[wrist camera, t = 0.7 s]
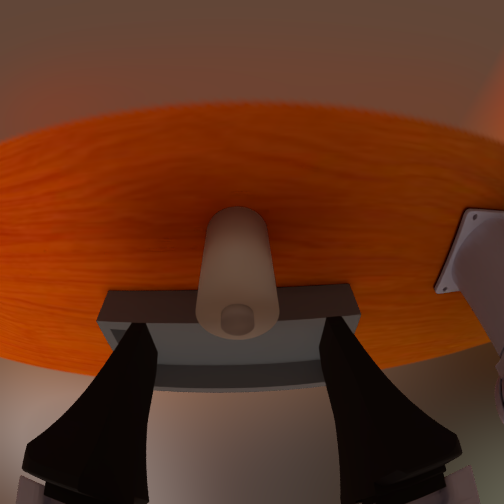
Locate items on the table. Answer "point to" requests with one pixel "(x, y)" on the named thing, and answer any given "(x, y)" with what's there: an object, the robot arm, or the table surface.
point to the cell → (237, 277)
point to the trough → (231, 351)
